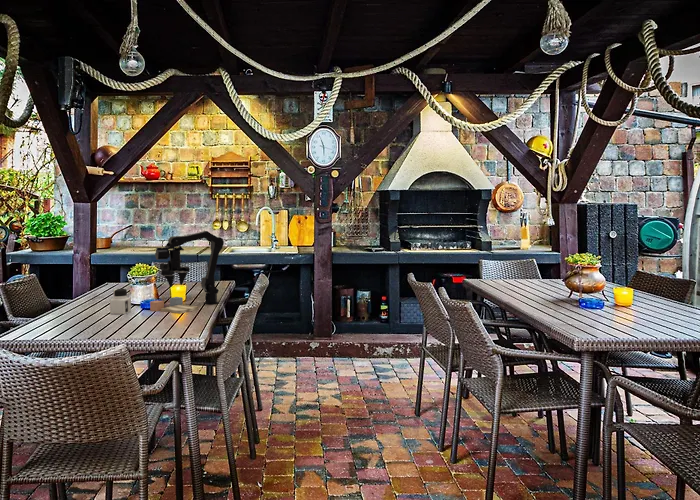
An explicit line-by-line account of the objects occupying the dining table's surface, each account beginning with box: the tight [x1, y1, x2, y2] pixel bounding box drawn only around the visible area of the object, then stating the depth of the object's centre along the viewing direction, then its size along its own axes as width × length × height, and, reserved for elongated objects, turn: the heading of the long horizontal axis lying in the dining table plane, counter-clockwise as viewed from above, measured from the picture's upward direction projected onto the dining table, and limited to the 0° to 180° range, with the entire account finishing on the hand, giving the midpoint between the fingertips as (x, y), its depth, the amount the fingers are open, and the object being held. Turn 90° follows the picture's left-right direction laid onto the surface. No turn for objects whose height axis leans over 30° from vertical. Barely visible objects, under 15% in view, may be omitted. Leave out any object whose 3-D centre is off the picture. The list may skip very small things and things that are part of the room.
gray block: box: [169, 296, 184, 307], centre depth 313 cm, size 5×5×5 cm
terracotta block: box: [149, 299, 165, 312], centre depth 300 cm, size 5×5×5 cm
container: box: [109, 288, 132, 315], centre depth 292 cm, size 8×8×13 cm
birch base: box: [160, 304, 200, 315], centre depth 301 cm, size 14×14×2 cm
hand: (176, 285), depth 310 cm, fingers open, 9 cm apart
